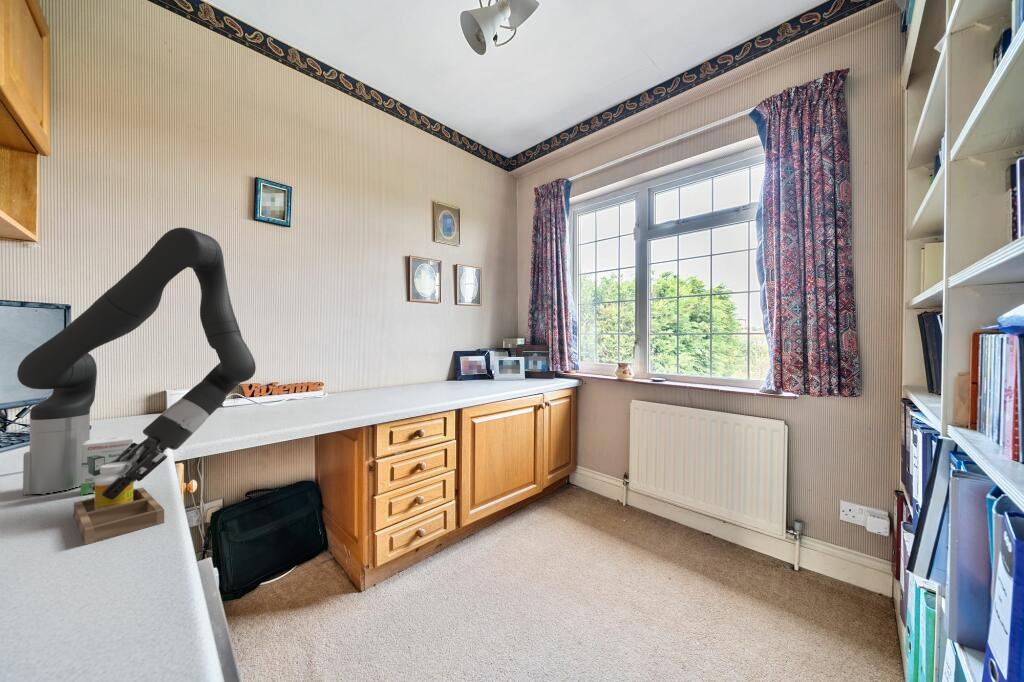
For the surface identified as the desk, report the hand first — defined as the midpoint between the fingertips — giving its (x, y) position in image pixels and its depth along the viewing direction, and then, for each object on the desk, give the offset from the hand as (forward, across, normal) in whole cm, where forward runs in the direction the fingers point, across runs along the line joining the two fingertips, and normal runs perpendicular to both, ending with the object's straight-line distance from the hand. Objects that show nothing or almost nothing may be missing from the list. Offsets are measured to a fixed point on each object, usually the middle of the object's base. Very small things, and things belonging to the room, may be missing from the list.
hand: (101, 494), depth 75 cm
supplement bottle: (+2, 0, +4) cm, 5 cm away
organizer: (+2, +5, +4) cm, 7 cm away
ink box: (-1, -20, +7) cm, 21 cm away
